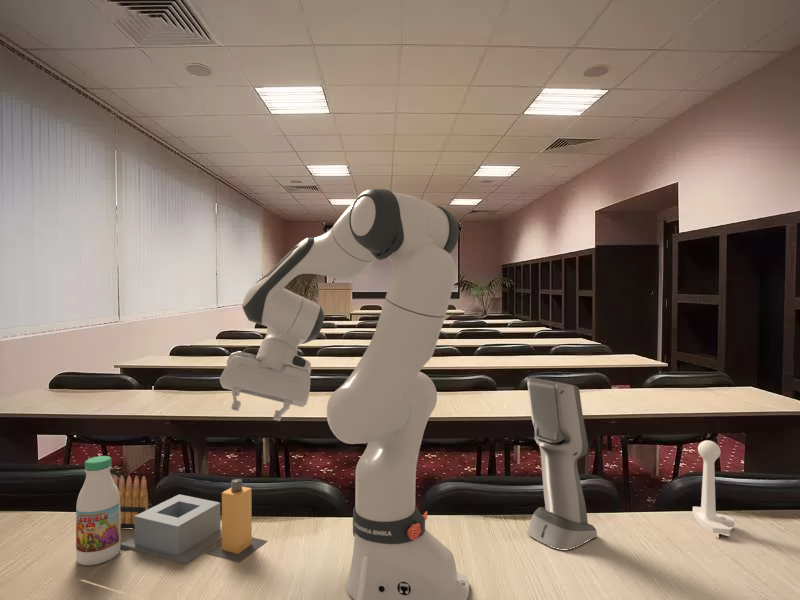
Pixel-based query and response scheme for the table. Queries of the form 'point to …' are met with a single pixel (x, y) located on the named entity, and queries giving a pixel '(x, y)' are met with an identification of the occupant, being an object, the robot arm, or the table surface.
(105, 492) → the milk bottle
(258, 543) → the mat
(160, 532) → the housing
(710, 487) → the joystick
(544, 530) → the thermal camera
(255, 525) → the table surface
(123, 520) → the ammunition clip
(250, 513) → the plug
